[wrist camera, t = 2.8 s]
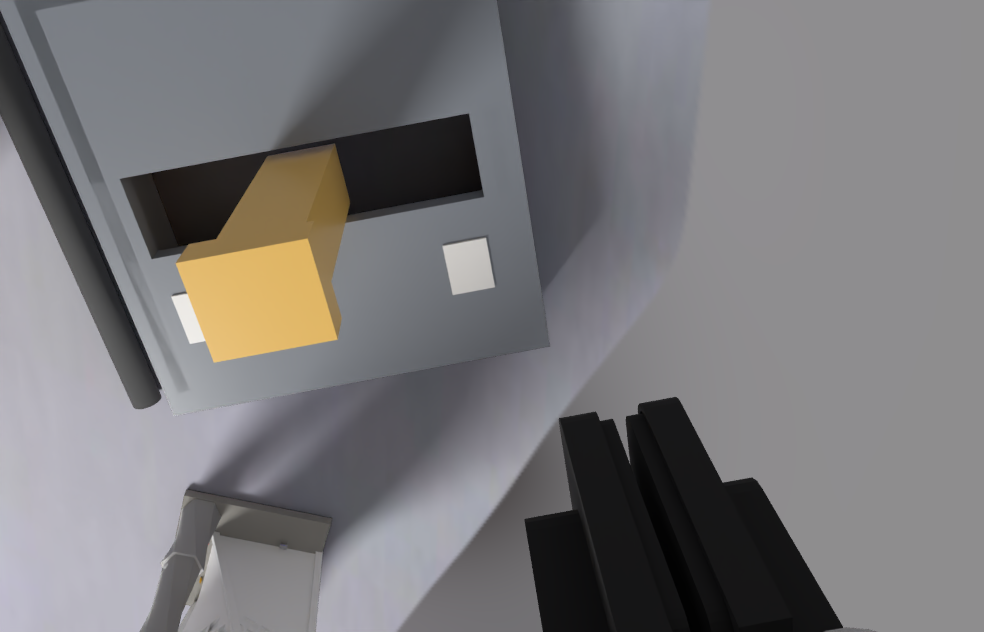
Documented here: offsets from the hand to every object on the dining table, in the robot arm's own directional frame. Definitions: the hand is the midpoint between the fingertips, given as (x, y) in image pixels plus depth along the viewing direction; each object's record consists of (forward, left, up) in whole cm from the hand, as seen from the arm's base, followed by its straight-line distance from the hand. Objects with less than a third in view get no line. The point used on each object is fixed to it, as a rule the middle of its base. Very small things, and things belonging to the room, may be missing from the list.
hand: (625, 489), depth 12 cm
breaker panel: (0, -7, -22) cm, 23 cm away
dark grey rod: (0, -17, -22) cm, 28 cm away
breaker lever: (0, -7, -19) cm, 20 cm away
